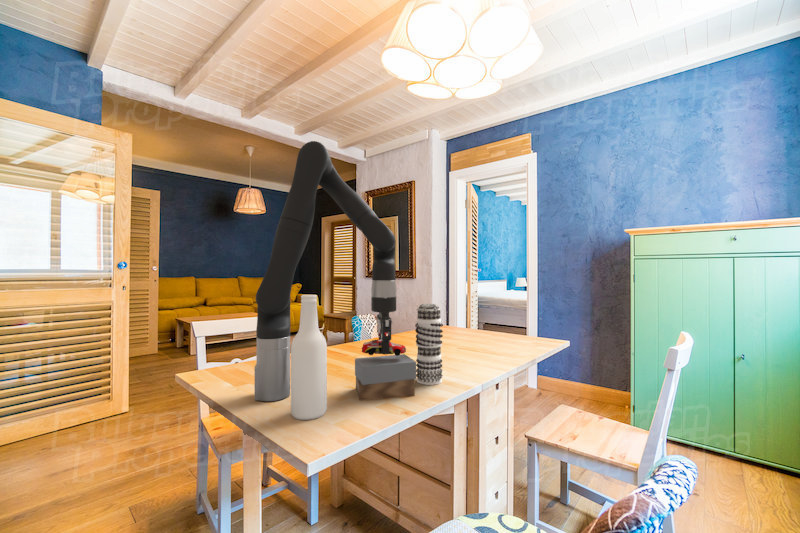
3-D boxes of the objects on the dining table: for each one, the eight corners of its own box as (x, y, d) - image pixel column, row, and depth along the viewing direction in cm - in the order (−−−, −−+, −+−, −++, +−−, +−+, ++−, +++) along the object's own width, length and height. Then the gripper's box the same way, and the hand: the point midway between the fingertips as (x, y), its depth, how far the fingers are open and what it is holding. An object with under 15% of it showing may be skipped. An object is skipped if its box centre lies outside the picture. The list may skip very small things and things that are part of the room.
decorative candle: (443, 376, 120) (442, 303, 120) (443, 385, 110) (443, 305, 111) (416, 376, 121) (415, 303, 121) (414, 384, 111) (414, 305, 112)
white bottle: (284, 413, 89) (284, 295, 89) (315, 404, 95) (315, 293, 96) (302, 424, 83) (301, 296, 83) (333, 413, 89) (333, 294, 89)
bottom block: (359, 401, 98) (359, 383, 98) (355, 390, 108) (355, 373, 108) (414, 397, 102) (414, 379, 102) (406, 386, 111) (406, 370, 111)
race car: (406, 352, 108) (406, 339, 108) (405, 356, 102) (405, 342, 102) (364, 351, 109) (364, 338, 109) (360, 355, 103) (360, 341, 103)
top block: (362, 385, 97) (362, 366, 97) (354, 374, 107) (354, 358, 107) (416, 379, 103) (416, 361, 103) (404, 369, 112) (404, 354, 112)
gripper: (369, 294, 112) (369, 347, 112) (374, 297, 98) (374, 357, 98) (392, 293, 113) (392, 346, 113) (400, 296, 99) (400, 356, 99)
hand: (383, 351), depth 105 cm, fingers closed on race car, 6 cm apart
